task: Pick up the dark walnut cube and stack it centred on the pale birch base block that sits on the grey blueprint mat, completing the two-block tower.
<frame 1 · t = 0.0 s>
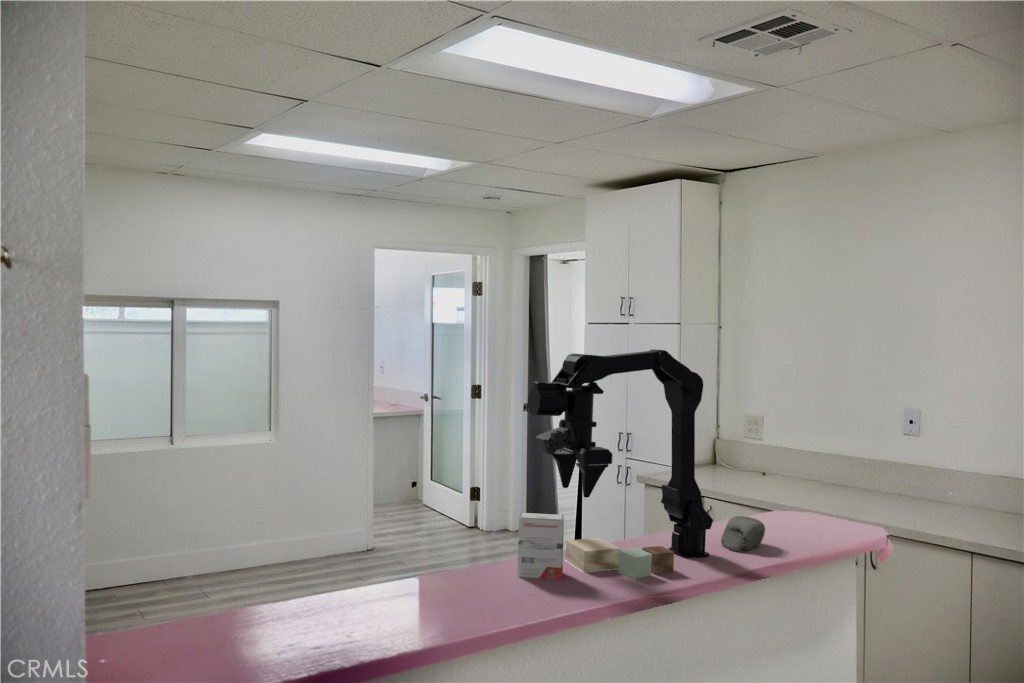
hand: (575, 492, 158), 15 cm above the counter, fingers open, 9 cm apart
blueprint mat: (591, 565, 158), on the counter
ink box: (539, 577, 150), on the counter
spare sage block: (634, 574, 153), on the counter, touching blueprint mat
walnut cube: (657, 572, 156), on the counter
stone: (741, 547, 178), on the counter
birch base block: (591, 564, 158), resting on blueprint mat
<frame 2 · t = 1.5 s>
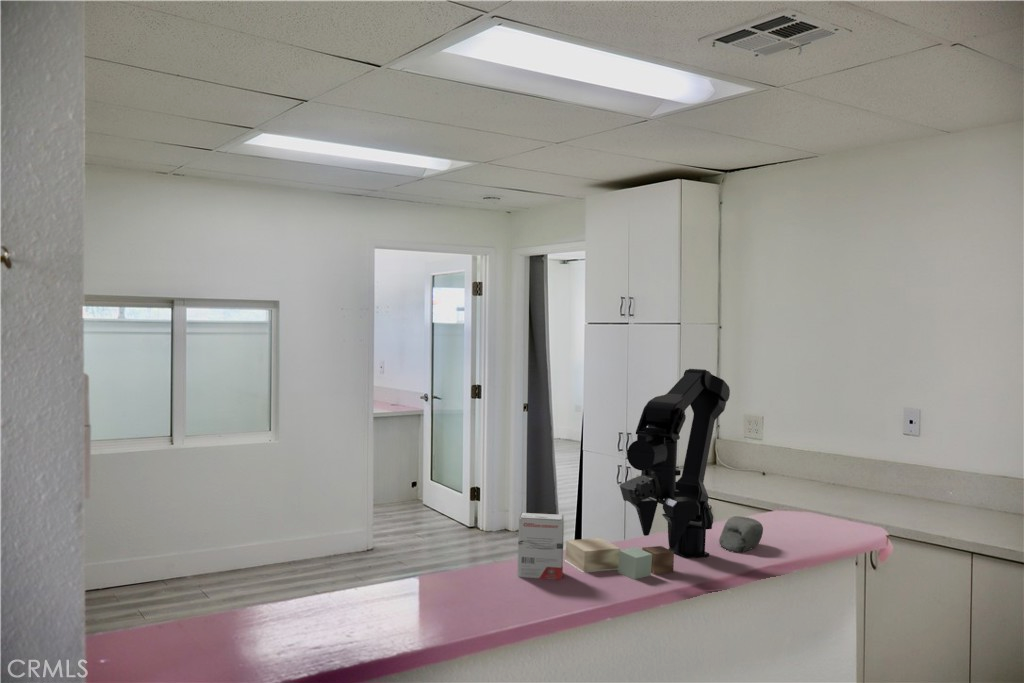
hand: (658, 541, 156), 6 cm above the counter, fingers open, 9 cm apart
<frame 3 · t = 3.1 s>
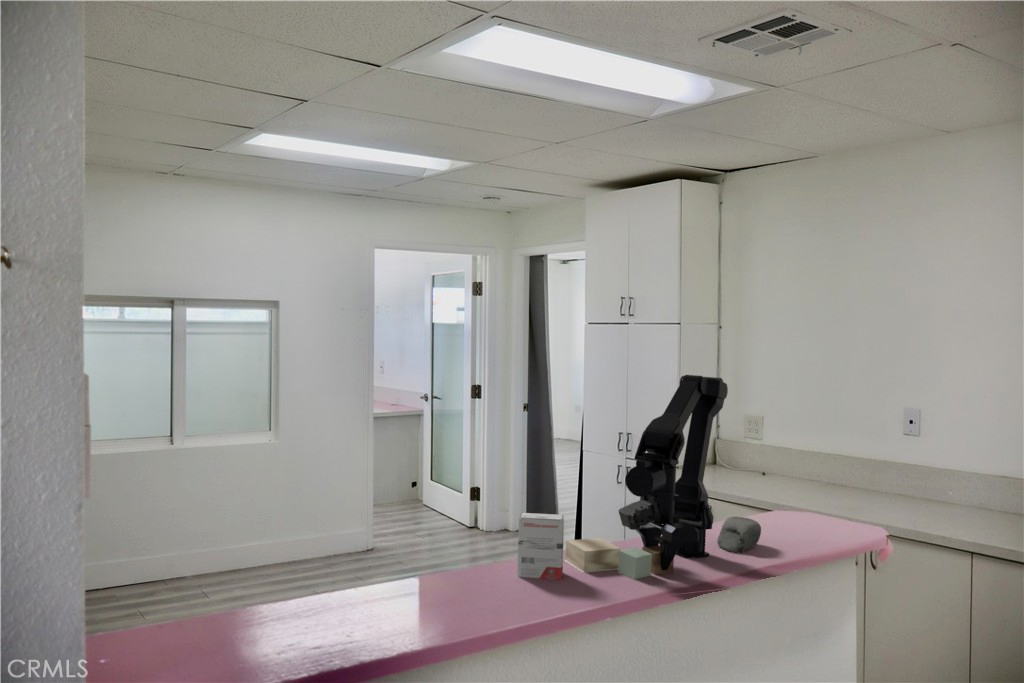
hand: (657, 566, 156), 1 cm above the counter, fingers closed on walnut cube, 4 cm apart
walnut cube: (657, 571, 156), on the counter, touching gripper
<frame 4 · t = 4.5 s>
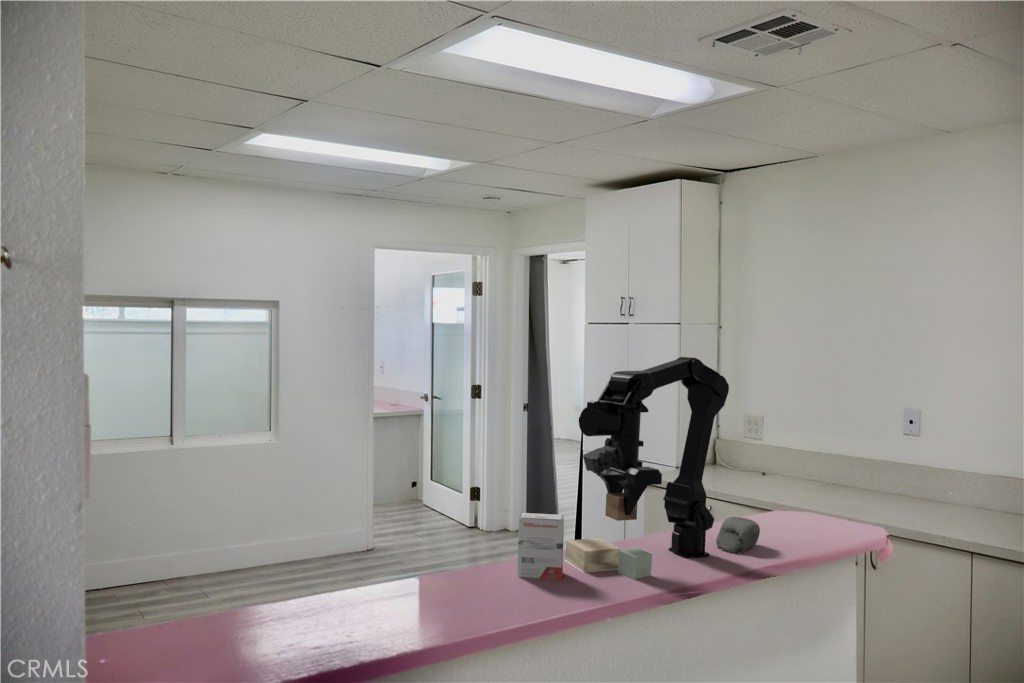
hand: (621, 512, 157), 11 cm above the counter, fingers closed on walnut cube, 4 cm apart
walnut cube: (620, 517, 157), point 10 cm above the counter, touching gripper
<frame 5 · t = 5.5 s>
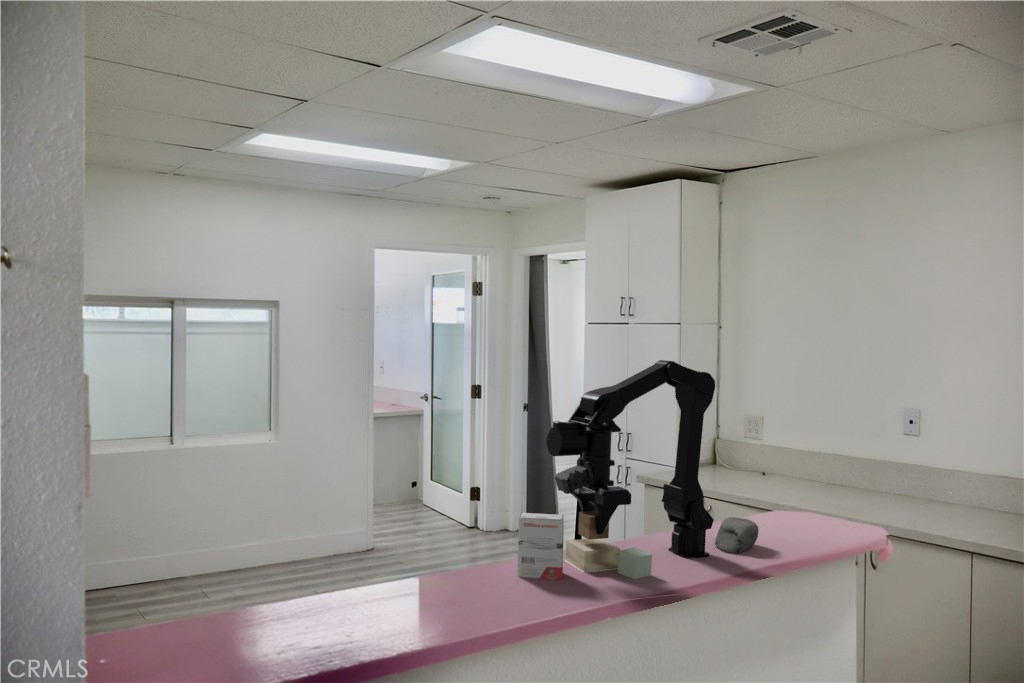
hand: (593, 530, 158), 7 cm above the counter, fingers closed on walnut cube, 4 cm apart
walnut cube: (593, 535, 158), point 6 cm above the counter, touching gripper
when the fingers open (7 cm above the counter, at t = 6.3 s): walnut cube drops 1 cm, resting on birch base block.
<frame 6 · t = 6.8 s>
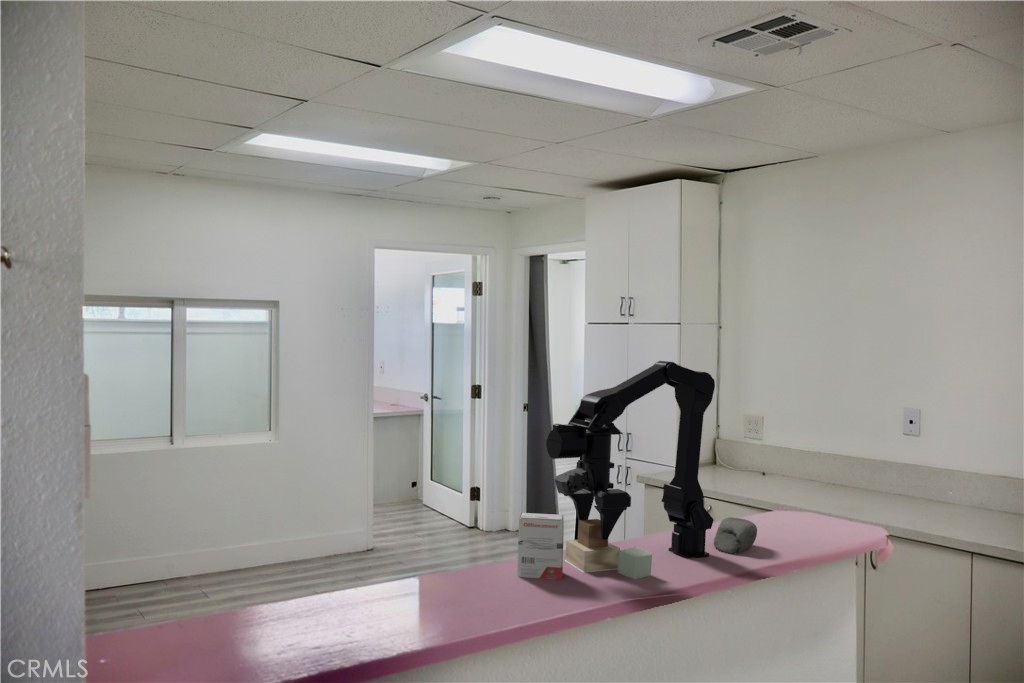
hand: (593, 533, 158), 7 cm above the counter, fingers open, 9 cm apart
walnut cube: (592, 544, 158), point 4 cm above the counter, touching birch base block
birch base block: (591, 564, 158), resting on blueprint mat, touching walnut cube
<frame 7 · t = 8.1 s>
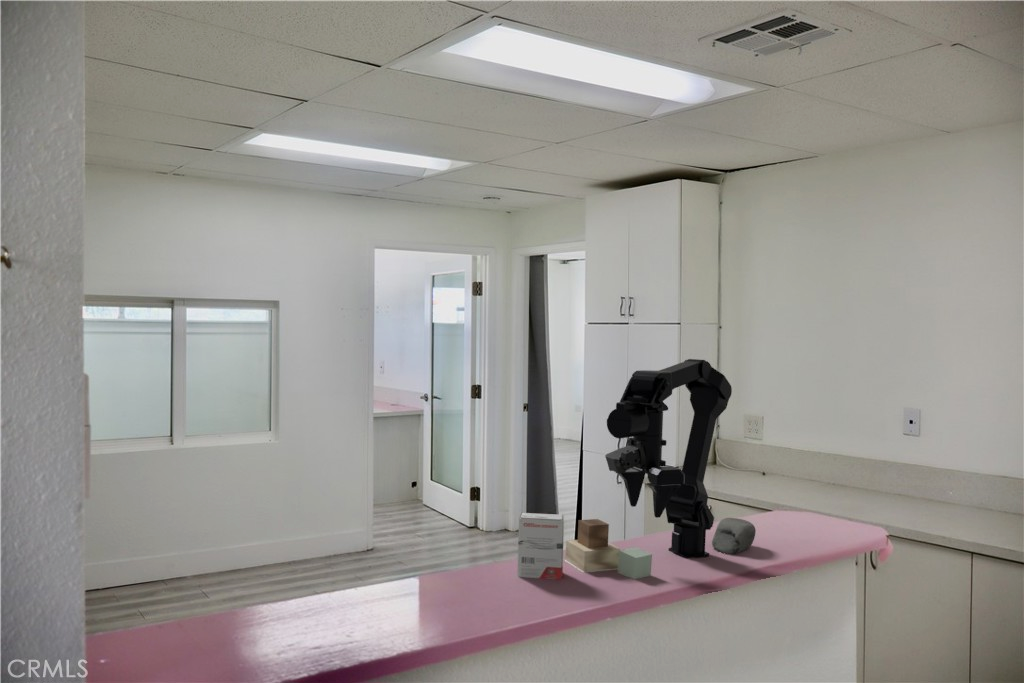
hand: (645, 511, 156), 12 cm above the counter, fingers open, 9 cm apart
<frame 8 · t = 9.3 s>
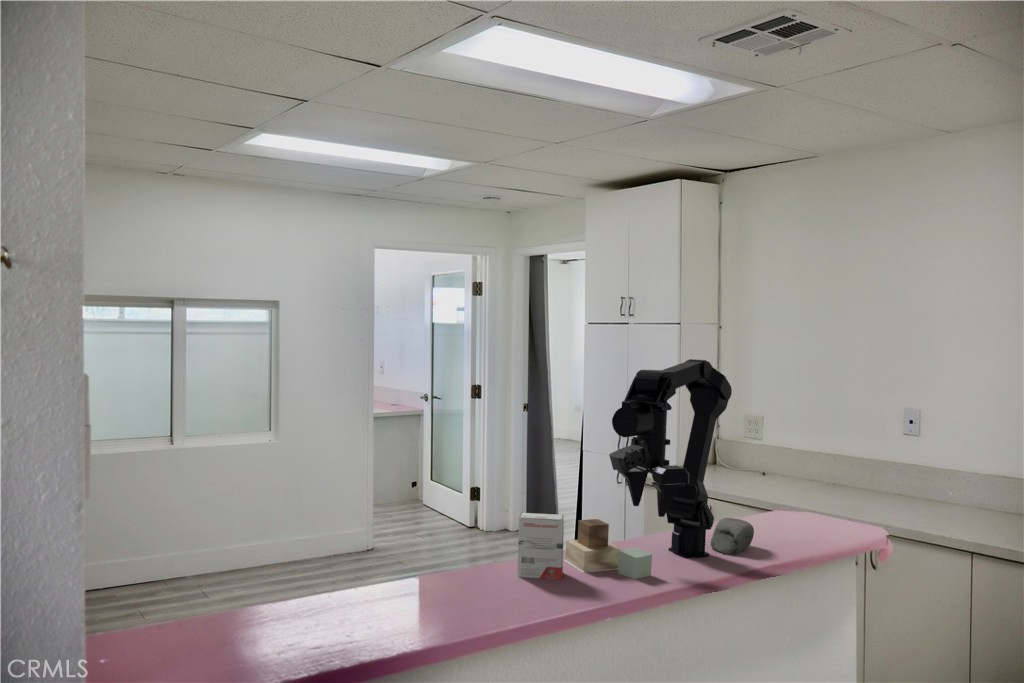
hand: (648, 511, 156), 12 cm above the counter, fingers open, 9 cm apart
at the end: walnut cube 0.0 cm off-centre on the birch base block, point 4.0 cm above the birch base block's base; walnut cube tilted 0°; the gripper is holding nothing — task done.
